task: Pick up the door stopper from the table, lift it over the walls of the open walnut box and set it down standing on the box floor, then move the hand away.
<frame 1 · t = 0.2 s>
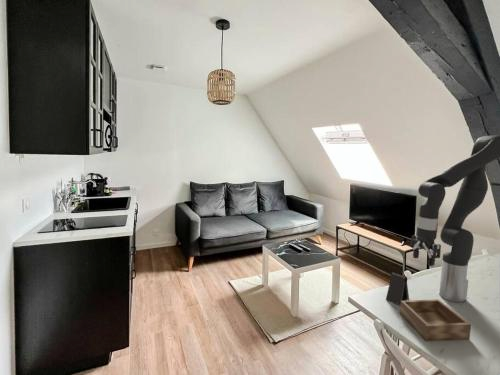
hand: (422, 261, 120), 18 cm above the table, tool pointing down, fingers open, 8 cm apart
door stopper: (397, 299, 122), on the table
walnut box: (432, 325, 103), on the table
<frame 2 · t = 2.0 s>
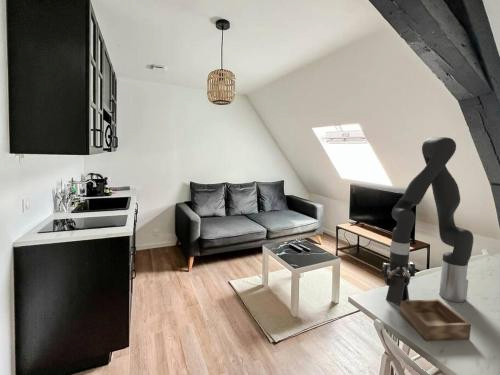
hand: (396, 284, 121), 7 cm above the table, tool pointing down, fingers open, 8 cm apart
nothing on the table moved.
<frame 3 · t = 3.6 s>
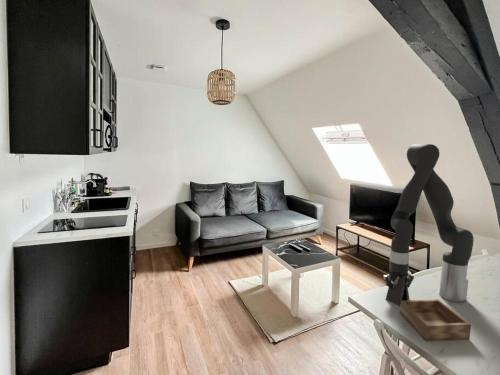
hand: (397, 295, 122), 2 cm above the table, tool pointing down, fingers closed on door stopper, 3 cm apart
door stopper: (397, 299, 122), on the table, touching gripper
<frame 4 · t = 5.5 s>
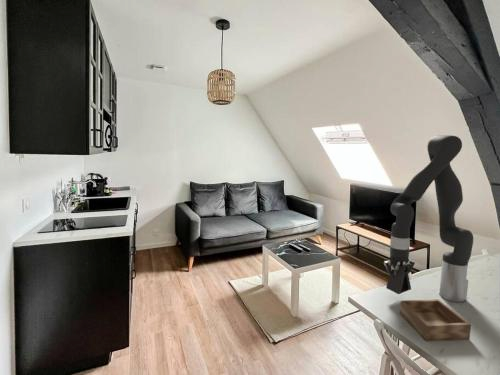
hand: (397, 281, 121), 8 cm above the table, tool pointing down, fingers closed on door stopper, 2 cm apart
door stopper: (398, 289, 121), point 5 cm above the table, touching gripper
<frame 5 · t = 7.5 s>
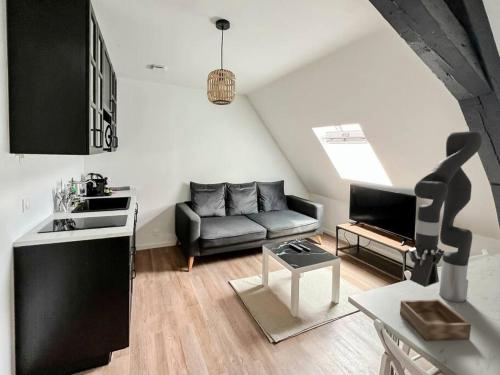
hand: (423, 273, 106), 19 cm above the table, tool pointing down, fingers closed on door stopper, 2 cm apart
door stopper: (424, 281, 106), point 16 cm above the table, touching gripper
when the fingers open (4 cm above the table, at t = 10.7 s): door stopper stays where it is, resting on walnut box.
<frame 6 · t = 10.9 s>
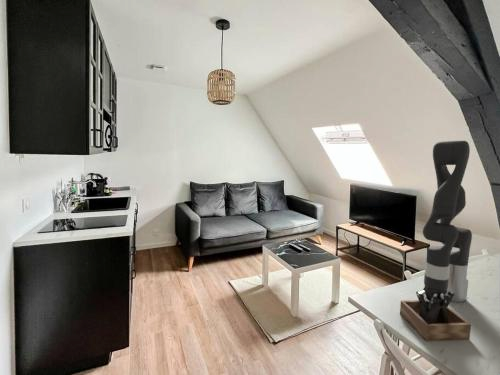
hand: (432, 316, 103), 4 cm above the table, tool pointing down, fingers open, 3 cm apart
door stopper: (432, 324, 103), point 1 cm above the table, touching walnut box
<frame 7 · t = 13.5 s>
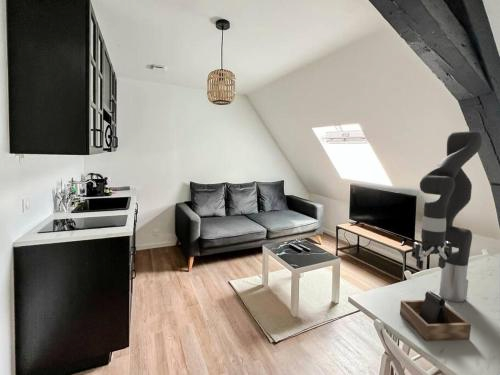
hand: (430, 268, 103), 23 cm above the table, tool pointing down, fingers open, 8 cm apart
nothing on the table moved.
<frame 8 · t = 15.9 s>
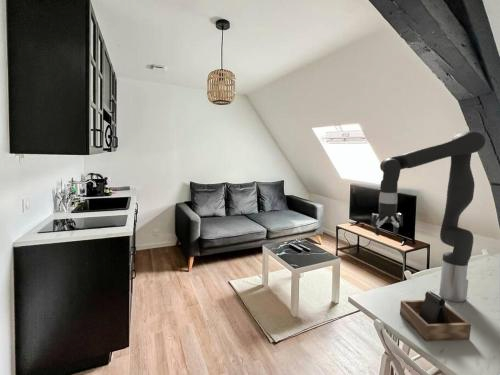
hand: (386, 234, 126), 28 cm above the table, tool pointing down, fingers open, 8 cm apart
nothing on the table moved.
at the end: door stopper inside the target area on the walnut box (0.2 cm from its centre), point 0.8 cm above the walnut box's base; door stopper tilted 0°; the gripper is holding nothing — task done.
